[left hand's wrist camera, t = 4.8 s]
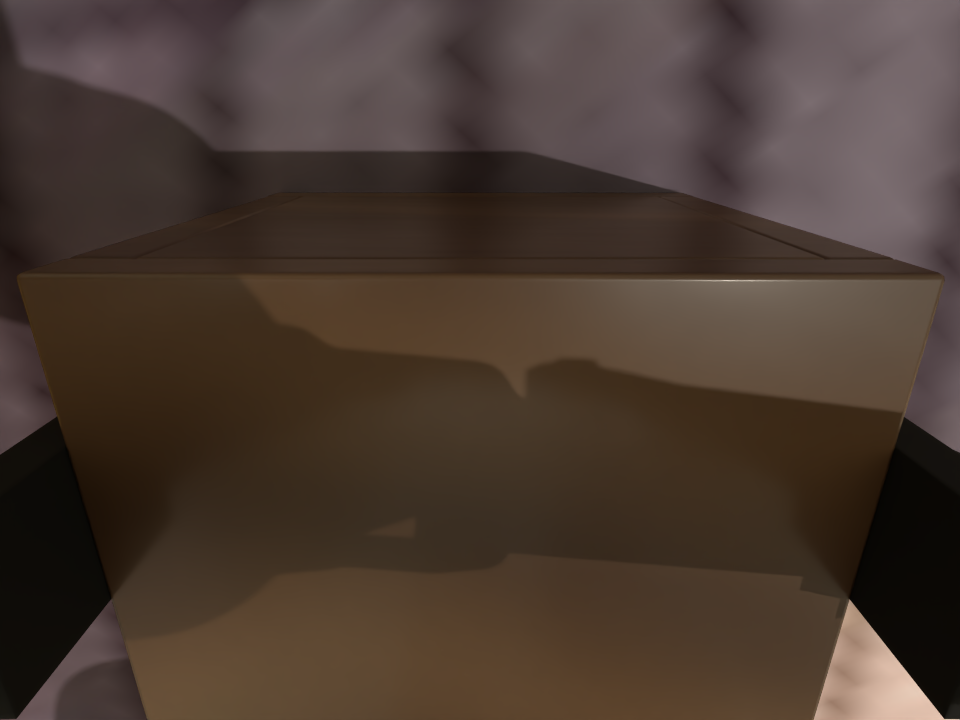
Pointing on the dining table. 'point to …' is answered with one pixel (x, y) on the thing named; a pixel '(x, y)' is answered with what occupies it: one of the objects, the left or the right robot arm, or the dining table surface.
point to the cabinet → (480, 452)
